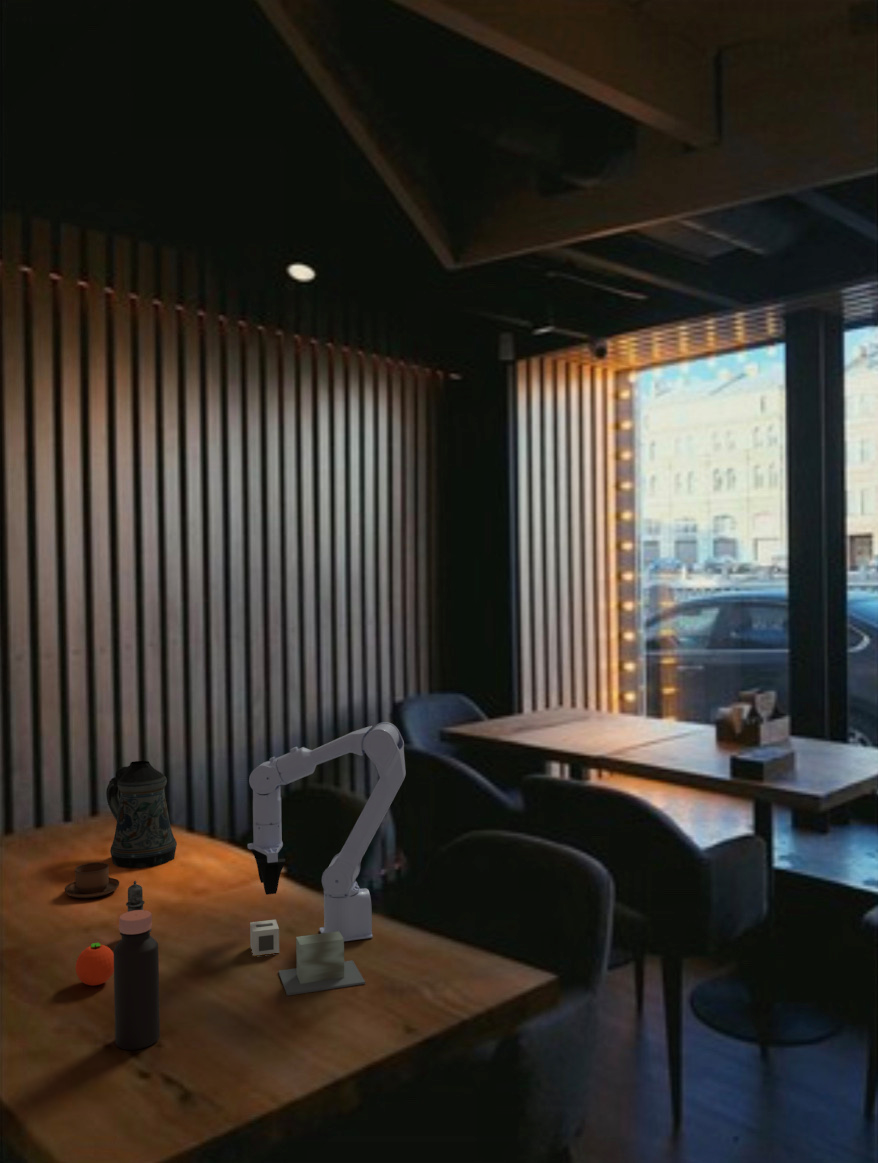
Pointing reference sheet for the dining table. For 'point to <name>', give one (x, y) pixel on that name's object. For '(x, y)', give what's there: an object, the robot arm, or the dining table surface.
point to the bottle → (136, 982)
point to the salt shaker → (135, 897)
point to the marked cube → (264, 937)
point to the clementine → (95, 964)
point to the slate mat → (294, 986)
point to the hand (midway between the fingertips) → (268, 887)
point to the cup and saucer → (91, 881)
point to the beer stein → (140, 817)
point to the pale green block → (320, 957)
